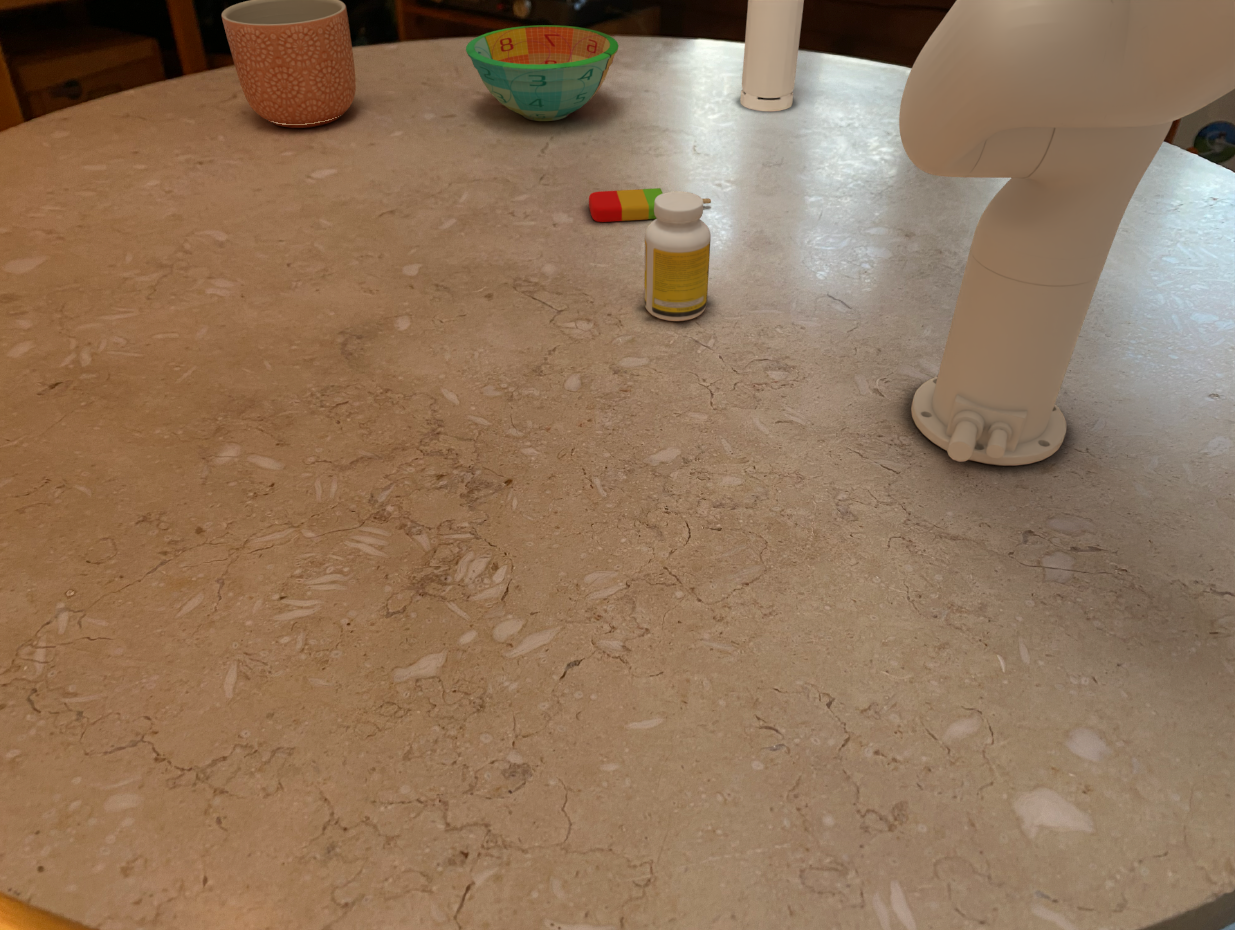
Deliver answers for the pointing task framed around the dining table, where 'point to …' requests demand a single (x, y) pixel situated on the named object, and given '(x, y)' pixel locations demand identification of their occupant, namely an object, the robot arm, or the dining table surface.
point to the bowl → (543, 67)
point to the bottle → (771, 53)
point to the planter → (293, 58)
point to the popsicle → (625, 204)
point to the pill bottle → (677, 258)
